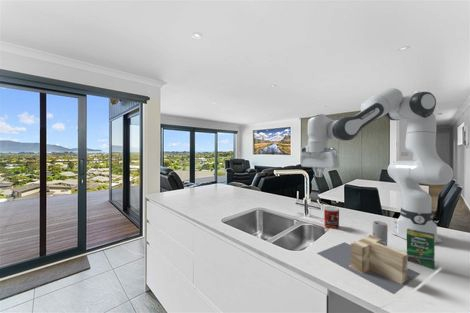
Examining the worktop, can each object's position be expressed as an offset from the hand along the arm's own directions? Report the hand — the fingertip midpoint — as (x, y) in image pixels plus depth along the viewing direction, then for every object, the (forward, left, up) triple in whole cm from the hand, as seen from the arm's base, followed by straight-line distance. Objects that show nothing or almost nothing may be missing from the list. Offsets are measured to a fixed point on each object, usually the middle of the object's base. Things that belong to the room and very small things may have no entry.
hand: (318, 176), depth 97 cm
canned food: (-23, +4, -32) cm, 40 cm away
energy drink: (-5, +25, -32) cm, 41 cm away
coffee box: (+2, +37, -32) cm, 49 cm away
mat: (+12, +18, -32) cm, 39 cm away
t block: (+16, +23, -31) cm, 42 cm away
